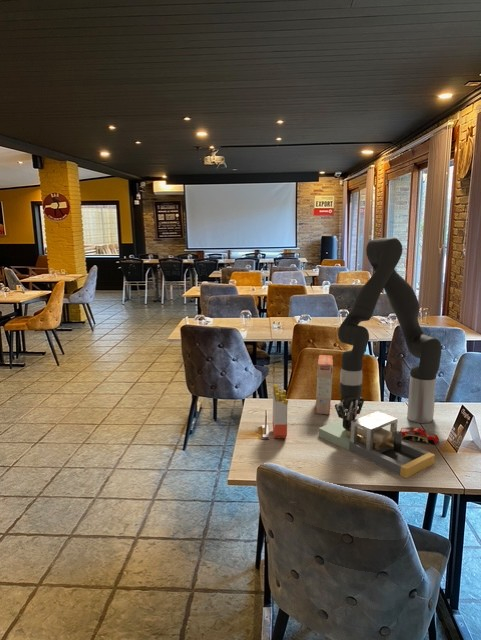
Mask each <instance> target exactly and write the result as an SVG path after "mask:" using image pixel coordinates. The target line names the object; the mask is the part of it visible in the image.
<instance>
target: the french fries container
mask: <svg viewBox="0 0 481 640" xmlns="http://www.w3.org/2000/svg"><path fill="white" fill-rule="evenodd" d="M272 386H273V391H272V432H273V439H286V438H287V435H288V403H289V399H287V398H286V396H287V395H286V393H287V391H286V390H285V389H283V390H282V388H278V384H277V383H273V385H272Z"/></svg>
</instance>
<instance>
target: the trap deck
mask: <svg viewBox="0 0 481 640" xmlns="http://www.w3.org/2000/svg"><path fill="white" fill-rule="evenodd" d="M346 433H347V430H346V429H344V428H343V419H342V418H341V419H340V420H337V421H335V422H334V421H333V422H332V423H329V424H326V425H323V426H321V427H318V436H319V437H320V438H322V439H324V440H326V441H328V442H330V443H332V444H334V445H336V446H338V447H341V448H343V449H345V450H347V451H349V452H351V453H353V454H356V455H357V456H359V457H360V458H364V459H365V458H366V460H367V459H368V461H369V460H370V461H369V462H371V461H372V463H373V462H374V464H376V465H378V466H380V467H382V468H384V469H386V470H388V471H390V472H393V473H394V474H396V475H398V476H401V477H402V476H403V477H402V478H404V477H405V478H404V479H407V478H409V477H411V476H413V475H415V474H417V473H420V471H422V470H425V469H426V468H428V467H431V466H432V465H434V464H435V457H436V455H435V454H434V453H431V452H430V451H427V450H425V449H422V448H420V447H417V446H415V445H412V444H410V443H409V442H405V441H403V440H402V443H401V451H400V452H396V451H394V450H393V449H390V448H388V447H386V448H384V449H382V450H379V451H378V450H376V449H374V448H373V450H371V451H369V450H367V449H366V445H365V444H363V443H361V442H359V441H357V442H356V443H352V442H350V437H348V436H346Z"/></svg>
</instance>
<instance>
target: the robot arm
mask: <svg viewBox="0 0 481 640" xmlns="http://www.w3.org/2000/svg"><path fill="white" fill-rule="evenodd" d="M402 244H403V243H401V240H399V239H398V238H396V237H380V238H373V239H370V240H369V241H368V242H367V245H366V248H365V249H366V250H365V252H366V257H367V261H369V263H370V265H371V267H372V268H373V271H374V273H373V274H372V275H371V277H370V278H369V279H368V280H367V282H365V284H364V285H363V286H362V287H361V289H360V290H359V291H358V293H357V295H356V297H355V300H354V302H353V305H352V309H351V310H350V311H349V313H348V314H347V316H346V317H345V318H344V320H343V321H342V323H341V324H340V325H339V328H338V331H337V337H338V340H339V341H340V342H341V343H342V344H346V345H350V346H352V349H351V350H345V351H344V352H342V355H341V362H340V363H341V367H340V374H339V394H340V395H341V398H340V400H339V401H340V402H339V403H338V404H337V403H336V404H334V408H335V411H336V414H337V417H338V418H340V419H341V420H342V419H343V428H344V429H349V417H350V413H351V412H352V413H353V420H355V419H356V418H357V415H360V414H361V411H362V408H363V406H364V403H365V400H366V399H365V398H364V397H362V396H361V395H362V389H363V359H364V355H365V352H366V350H367V347H368V345H369V344H368V343H369V341H370V333H369V331H368V329H367V328H366V327H365V326H363V325H359V324H360V323H361V322H369V321H370V320H371V319H372V317H373V313H374V311H375V309H376V306H377V304H378V300H379V298H380V296H381V293H382V292H383V290H384V292H385V294H386V295H387V296H386V297H387V298H388V301H389V304H390V306H391V308H392V310H393V311H392V312H394V314H395V317H396V318H397V322H398V324H399V326H400V328H401V331H402V333H403V337H404V341H405V343H406V347H407V350H408V352H409V353H410V355H412V356H413V357H415V358H418V359H419V363H418V365H416V366H413V367H411V369H410V373H409V375H410V376H409V388H408V399H407V400H408V402H407V412H406V414H407V416H406V417H407V419H408V420H409V421H410V422H413V423H419V424H429V423H432V422H433V419H434V414H435V403H436V402H435V401H436V395H435V391H436V381H437V374H438V372H439V370H440V365H441V357H442V351H443V350H442V343H441V341H440V340H439V339H438V338H436V337H434V336H431V335H427V334H425V333H424V331H423V329H422V328H421V325H420V323H419V314H420V303H419V302H420V301H419V300H418V297H417V295H416V293H415V290H414V289H413V287H412V285H411V284H409V282H407V281H406V280H405V279H404V278H403V277H402V275H400V274H399V273H398V272H397V270H396V267H397V265H398V263H399V261H400V260H401V257H402V254H403V245H402ZM346 413H347V415H346Z"/></svg>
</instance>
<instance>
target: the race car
mask: <svg viewBox="0 0 481 640" xmlns="http://www.w3.org/2000/svg"><path fill="white" fill-rule="evenodd" d="M400 432H402V440H405V441H409V442H415V443H423V444H428V445H433V446H434V445H436V444H438V443H440V438H439V436H438V435H437V434H435V433H433V432H428V431H426V430H425V429H423V428H420V427H414V426H412V427H411V426H409V427H408V426H407V427H401V429H400Z"/></svg>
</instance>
